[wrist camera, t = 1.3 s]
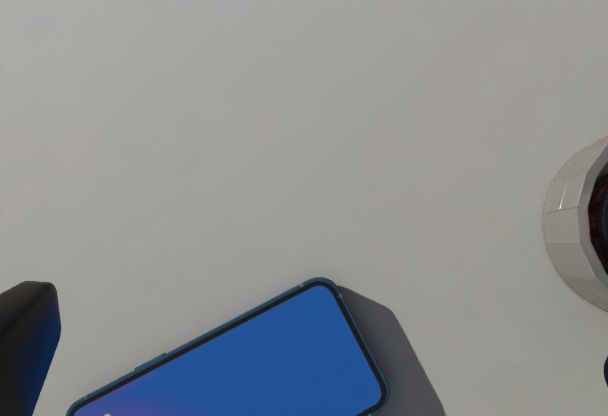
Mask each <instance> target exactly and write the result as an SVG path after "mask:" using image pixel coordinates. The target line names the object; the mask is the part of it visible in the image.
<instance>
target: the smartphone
mask: <svg viewBox="0 0 608 416" xmlns="http://www.w3.org/2000/svg"><path fill="white" fill-rule="evenodd" d="M388 399H389V386H388V384H387V381H386V379H385V377H384V375H383V373H382V371H381V369H380V367H379V365H378V363H377V361H376V359H375V358H374V356H373V354H372V352H371V350H370V348H369V346H368V344H367V342H366V340H365V338H364V336H363V334H362V332H361V331H360V329H359V327H358V325H357V323H356V321H355V319H354V317H353V315H352V313H351V311H350V309H349V307H348V306H347V304H346V302H345V300H344V298H343V296H342V294H341V292H340V290H339V289H338V287H337V286H336V284H335V283H333V282H332V281H331V280H329V279H327V278H323V277H315V278H312V279H309V280H307V281H305V282H303V283H301V284H299V285H297V286H295V287H293V288H291V289H290V290H288V291H286V292H284V293H282V294H280V295H278V296H276V297H274V298H272V299H270V300H268V301H267V302H265V303H263V304H261V305H259V306H257V307H255V308H253V309H251V310H249V311H247V312H245V313H243V314H242V315H240V316H238V317H236V318H234V319H232V320H230V321H228V322H226V323H224V324H222V325H220V326H218V327H217V328H215V329H213V330H211V331H209V332H207V333H205V334H203V335H201V336H199V337H197V338H195V339H194V340H192V341H190V342H188V343H186V344H184V345H182V346H180V347H178V348H176V349H174V350H172V351H170V352H169V353H167V354H166V353H164V354H162V355H160V356H158V357H156V358H154V359H152V360H150V361H148V362H146V363H144V364H142V365H140V366H139V367H137V368H135V370H134V371H132V372H130V373H128V374H126V375H124V376H122V377H121V378H119V379H117V380H115V381H113V382H111V383H109V384H107V385H105V386H103V387H101V388H99V389H98V390H96V391H94V392H92V393H90V394H88V395H86V396H84V397H82V398H81V399H79V400H77V401H76V402H74V403H73V404H72V405H71V406H70V408H69V409H68V411H67V413H66V416H373V415H375V414H377V413H378V412H380V411H381V410H382V409H383V408H384V407H385V406H386V404H387V402H388Z"/></svg>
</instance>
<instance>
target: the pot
mask: <svg viewBox="0 0 608 416" xmlns="http://www.w3.org/2000/svg"><path fill="white" fill-rule="evenodd" d="M607 177H608V136H607V137H605V138H603V139H600V140H598V141H597V142H595V143H594V144H592V145H590V146H588V147H586V148H585V149H583V150H582V151H580V152H579V153H577V154H576V155H575V156H573V157H572V158H571V159H570V160H569V161H568V162H567V163H566V164H565V165H564V166H563V168H562V169H561V170H560V171H559V173H558V174H557V176H556V177H555V179H554V180H553V182H552V185H551V187H550V189H549V191H548V194H547V197H546V201H545V205H544V211H543V233H544V240H545V244H546V248H547V251H548V253H549V256H550V259H551V261H552V263H553V265H554V267H555V268H556V270H557V272H558V273H559V275H560V276H561V277H562V279H563V280H564V281H565V283H566V284H567V285H568V286H569V287H570V288H571V289H572V290H573V291H574V292H575V293H577V294H578V295H579V296H580V297H581V298H583V299H584V300H586V301H587V302H589V303H591V304H592V305H594V306H596V307H598V308H600V309H602V310H605V311H608V269H607V268H606V267H605V266H604V265H603V264H602V263H601V262H600V260H599V258H598V256H597V253H596V251H595V249H594V247H593V245H592V243H591V238H590V228H589V217H588V206H589V202H590V199H591V195H592V193H593V192H594V190H595V189H596V187H597V186H598V185H599V184H600V183H601V182H602V181H603V180H604V179H605V178H607Z"/></svg>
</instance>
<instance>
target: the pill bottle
mask: <svg viewBox="0 0 608 416" xmlns="http://www.w3.org/2000/svg"><path fill="white" fill-rule="evenodd" d="M588 217H589V228H590V238H591V243H592V245H593V247H594V249H595V251H596V253H597V256H598V258H599V260H600V262H601V263H602V264H603V265H604V266H605V267H606V268H607V269H608V177H607V178H605V179H604V180H603V181H602V182H601V183H600V184H599V185H598V186H597V187H596V189H595V190H594V192H593V193H592V195H591V199H590V202H589V206H588Z"/></svg>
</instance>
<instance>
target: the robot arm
mask: <svg viewBox="0 0 608 416" xmlns="http://www.w3.org/2000/svg"><path fill="white" fill-rule="evenodd" d="M60 334H61V321H60V313H59V305H58V297H57V290H56V288H55V286H54V285H53V284H52V283H50V282H37V281H25V282H22V283H20V284H18V285H16V286H14V287H13V288H11V289H9V290H7V291H5V292H3V293H1V294H0V416H32V414H33V412H34V409H35V406H36V403H37V400H38V398H39V395H40V392H41V389H42V387H43V384H44V381H45V378H46V376H47V373H48V370H49V367H50V364H51V362H52V359H53V356H54V353H55V351H56V348H57V345H58V342H59V339H60ZM604 377H605V381H606V383H607V386H608V356H607V359H606V361H605V364H604Z"/></svg>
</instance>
